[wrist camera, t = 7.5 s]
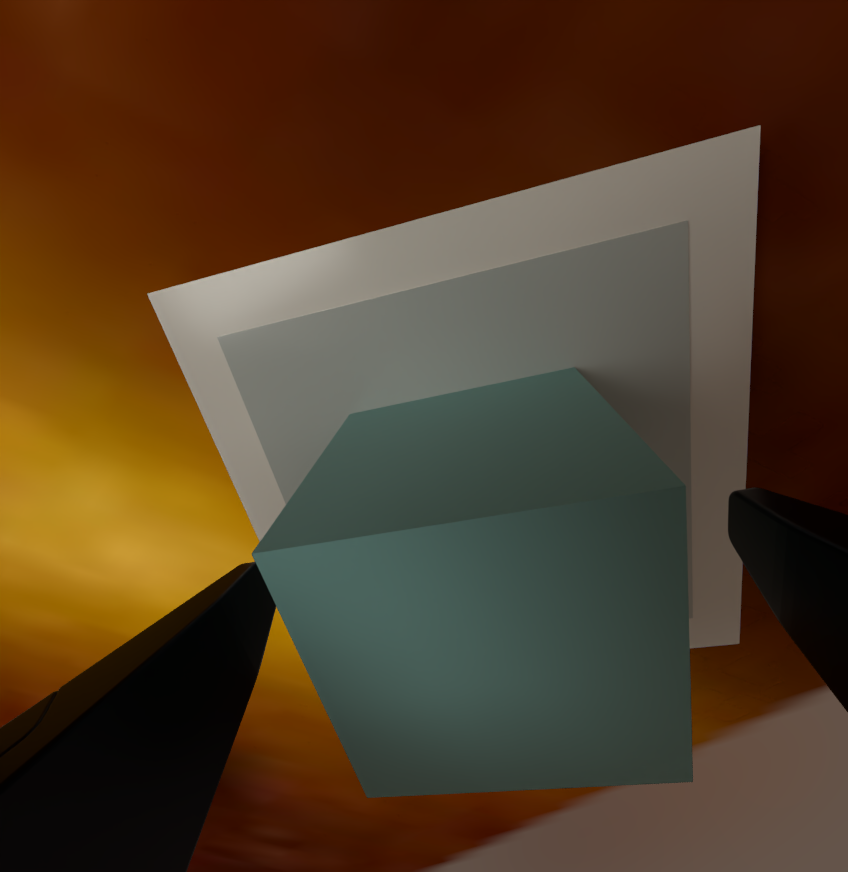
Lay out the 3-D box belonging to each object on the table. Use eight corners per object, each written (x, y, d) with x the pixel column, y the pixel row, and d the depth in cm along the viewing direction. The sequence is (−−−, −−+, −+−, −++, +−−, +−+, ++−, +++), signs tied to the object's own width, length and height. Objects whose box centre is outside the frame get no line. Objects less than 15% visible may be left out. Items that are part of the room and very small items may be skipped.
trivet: (733, 136, 8) (764, 123, 7) (723, 620, 12) (741, 646, 12) (170, 290, 10) (144, 294, 9) (331, 660, 14) (322, 685, 14)
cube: (574, 367, 9) (686, 486, 5) (597, 558, 11) (692, 781, 6) (349, 414, 10) (251, 553, 5) (405, 584, 12) (367, 797, 7)
